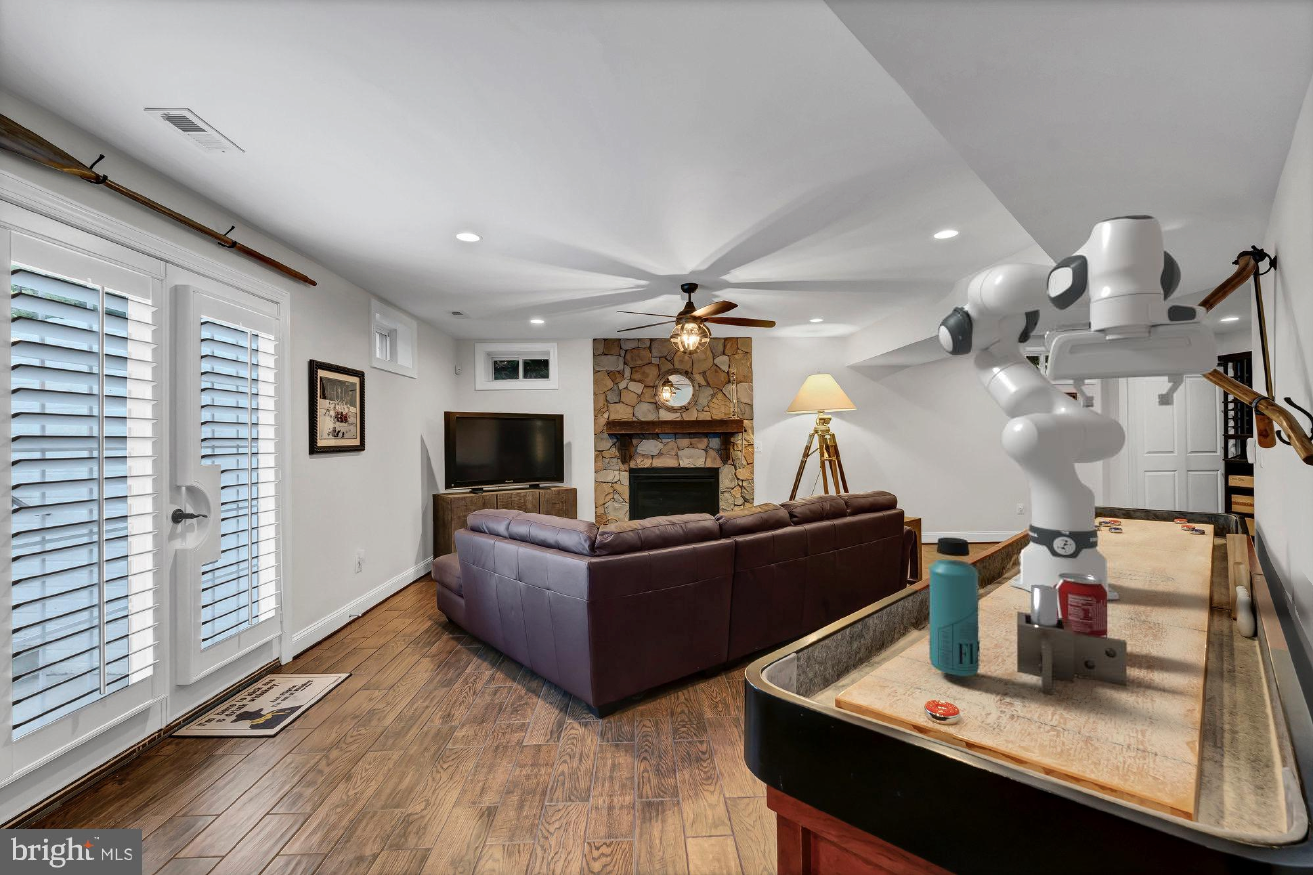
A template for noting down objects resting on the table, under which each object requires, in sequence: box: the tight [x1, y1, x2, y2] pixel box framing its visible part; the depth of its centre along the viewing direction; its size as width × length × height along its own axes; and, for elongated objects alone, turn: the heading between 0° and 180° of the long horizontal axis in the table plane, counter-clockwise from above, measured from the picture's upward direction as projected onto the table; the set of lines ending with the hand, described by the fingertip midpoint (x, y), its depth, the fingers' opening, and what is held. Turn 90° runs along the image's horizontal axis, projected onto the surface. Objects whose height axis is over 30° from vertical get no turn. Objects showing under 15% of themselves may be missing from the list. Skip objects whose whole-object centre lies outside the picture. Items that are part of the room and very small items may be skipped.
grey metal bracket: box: [1016, 611, 1128, 696], centre depth 76 cm, size 13×13×7 cm
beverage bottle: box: [928, 536, 981, 677], centre depth 78 cm, size 6×7×20 cm
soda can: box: [1053, 573, 1108, 637], centre depth 86 cm, size 7×7×12 cm
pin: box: [1030, 585, 1057, 628], centre depth 81 cm, size 3×3×12 cm
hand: (1125, 406), depth 86 cm, fingers open, 8 cm apart
